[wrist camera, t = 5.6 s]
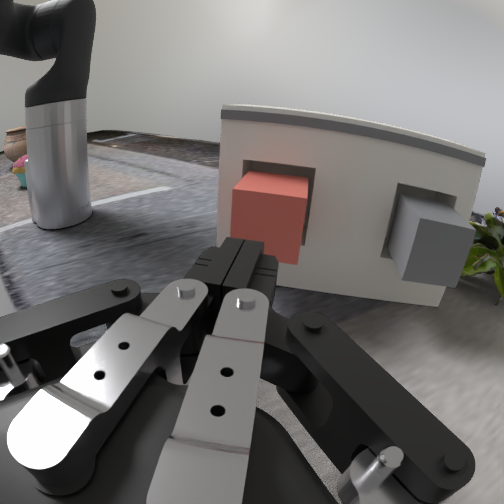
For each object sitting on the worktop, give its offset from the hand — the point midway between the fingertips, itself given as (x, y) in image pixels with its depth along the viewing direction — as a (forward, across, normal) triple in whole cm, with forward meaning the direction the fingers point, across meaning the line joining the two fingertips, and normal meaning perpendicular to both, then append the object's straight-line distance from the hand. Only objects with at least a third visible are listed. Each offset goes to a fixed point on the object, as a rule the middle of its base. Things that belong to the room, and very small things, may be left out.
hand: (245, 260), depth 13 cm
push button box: (+19, +6, -10) cm, 22 cm away
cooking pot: (+57, -79, -10) cm, 98 cm away
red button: (+12, 0, -5) cm, 13 cm away
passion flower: (+21, +28, -11) cm, 37 cm away
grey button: (+12, +13, -5) cm, 18 cm away
